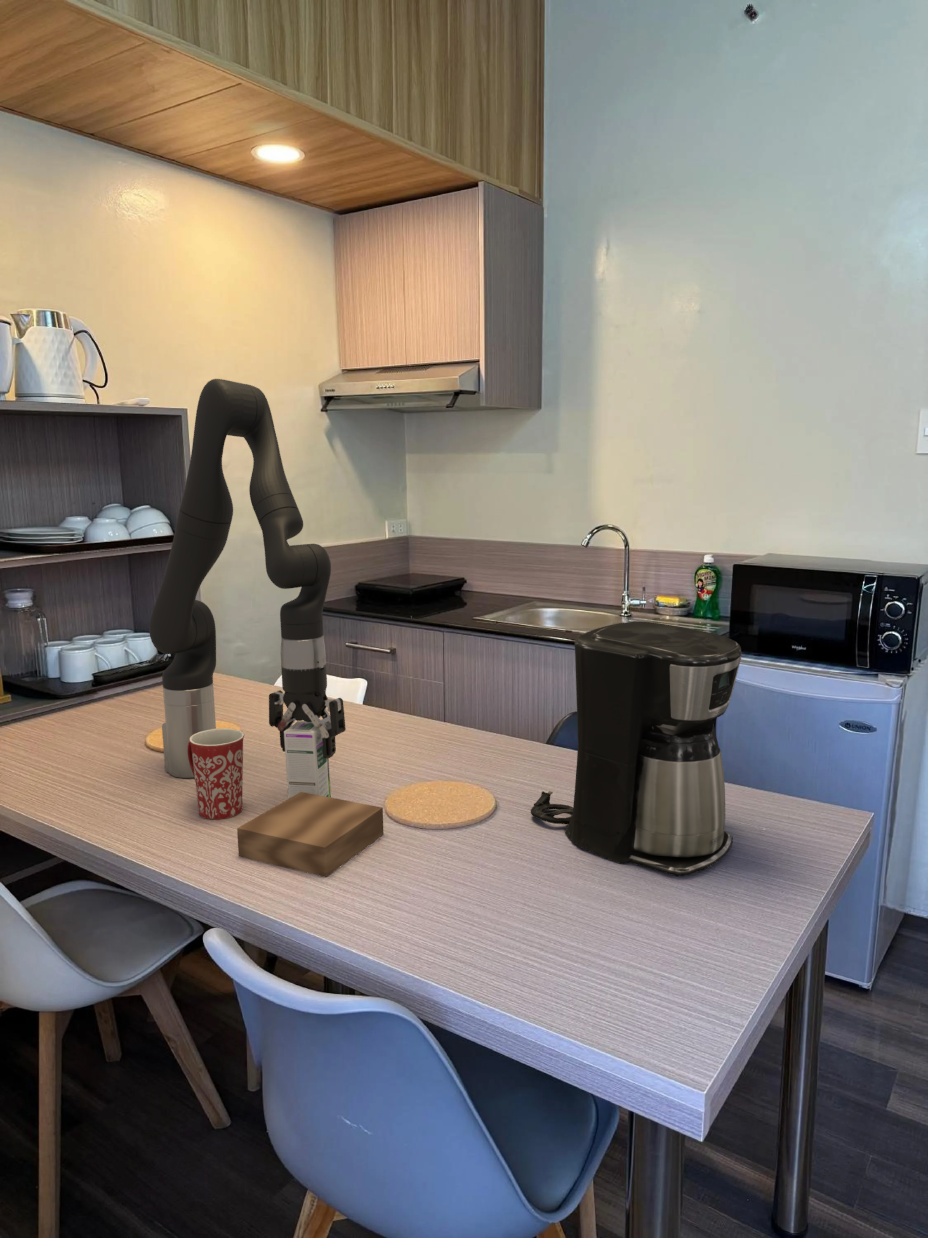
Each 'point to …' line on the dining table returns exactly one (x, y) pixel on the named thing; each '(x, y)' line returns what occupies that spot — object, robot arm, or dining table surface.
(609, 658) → the coffee maker
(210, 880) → the dining table surface
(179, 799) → the dining table surface
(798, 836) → the dining table surface
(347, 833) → the walnut riser
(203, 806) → the mug
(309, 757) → the syrup box
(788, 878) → the dining table surface
